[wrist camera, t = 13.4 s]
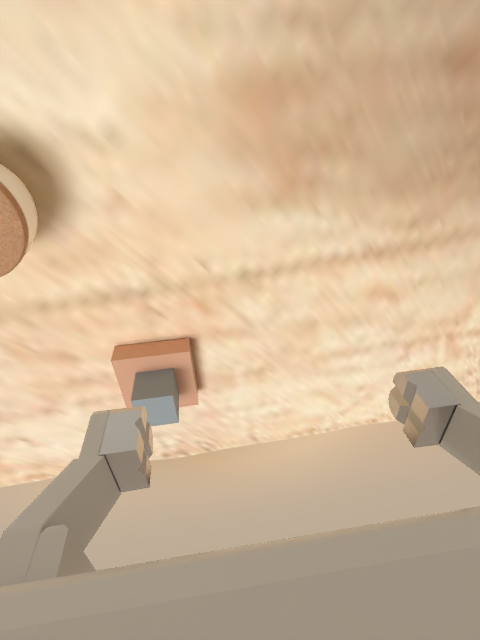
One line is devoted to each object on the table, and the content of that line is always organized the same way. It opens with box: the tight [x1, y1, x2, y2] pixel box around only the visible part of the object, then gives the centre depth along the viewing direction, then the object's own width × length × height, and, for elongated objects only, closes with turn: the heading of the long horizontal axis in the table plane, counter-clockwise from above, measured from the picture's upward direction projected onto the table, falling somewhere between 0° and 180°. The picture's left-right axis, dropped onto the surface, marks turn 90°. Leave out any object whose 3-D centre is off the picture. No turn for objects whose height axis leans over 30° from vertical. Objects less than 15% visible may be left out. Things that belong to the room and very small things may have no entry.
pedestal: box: [111, 338, 198, 408], centre depth 49 cm, size 10×10×3 cm
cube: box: [131, 368, 179, 426], centre depth 46 cm, size 5×5×5 cm
